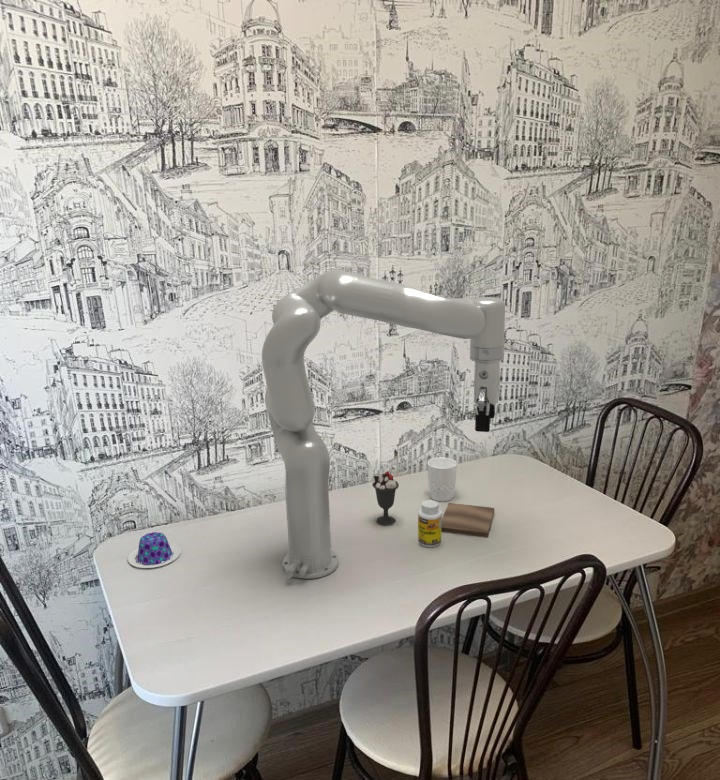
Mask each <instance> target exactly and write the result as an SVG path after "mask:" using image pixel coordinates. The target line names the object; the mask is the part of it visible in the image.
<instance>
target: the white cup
mask: <svg viewBox="0 0 720 780" xmlns="http://www.w3.org/2000/svg"><path fill="white" fill-rule="evenodd" d="M457 464H458V461H456V460H455V459H453V458H451V457H450V458H449V457H444V456H443V457H441V456H439V457H433V458H430V459H429V460H428V461H427V479H428V481H427V482H428V488H429V489H428V491H429V492H428V493H429V498H430V500H432V501H436V502H449V501H452V500H453V499H454V498H455V489H456V479H457V466H458V465H457Z"/></svg>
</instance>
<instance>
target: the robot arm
mask: <svg viewBox="0 0 720 780" xmlns="http://www.w3.org/2000/svg"><path fill="white" fill-rule="evenodd" d="M334 311H335V312H337V313H340V314H344V315H347V316H348V315H349V316H353V317H358V318H364V319H368V320H374V321H378V322H384V323H388V324H392V325H396V326H400V327H404V328H410V329H416V330H421V331H425V332H429V333H433V334H436V335H437V334H438V335H441V336H446V337H451V338H456V339H463V340H469V341H470V342H469V343H470V344H469V345H470V346H469V359H470V361H473V362H474V373H473V374H474V375H473V376H474V379H473V397H474V399H473V400H474V401H473V402H474V404H475V405H476V409H475V415H474V420H475V423H474V430H475V432H480V433H481V432H482V433H483V432H484V433H489V432H490V427H491V426H490V425H491V419H495V415H496V414H495V413H496V412H495V409H496V405H497V404H498V401H499V399H500V394H501V393H500V390H501V388H500V387H501V386H500V383H501V381H500V378H501V377H500V373H501V369H500V368H501V367H500V366H501V365H500V362H503V361H504V358H505V331H506V328H505V326H506V303H505V301H504V300H503V299H502V298H501V297H493V296H483V297H482V296H481V297H477V298H459V297H448V298H444V297H442V296H441V297H440V296H437V295H433V294H431V293H428V292H424V291H421V290H419V289H417V288H414V287H412V286H408V285H405V284H402V283H397V282H392V281H387V280H383V279H378V278H374V277H369V276H365V275H361V274H357V273H353V272H348V271H346V270H344V269H339V268H333V269H330V270H327V271H325V272H323V273H321V274H320V275H318V276H316V277H315V278H313V279H311V280H309V281H308V282H306V283H305V284H303V285H301V286H299V287H298V288H296V289H295V290H293V291H291V292H290V293H288V294H286V295H284V296H283V297H281V298H280V299H279V300H278V301H277V302H276V304H275V305H274V307H273V309H272V312H271V313H272V315H271V316H272V317H271V318H272V319H271V320H272V323H273V326H272V327H271V329H270V330H269V332H268V334H267V335H266V338H265V339H264V342H263V344H262V345H263V346H262V351H261V362H262V363H261V364H262V369H263V373H264V377H265V379H264V380H265V383H266V387H267V389H266V391H265V394H264V403H265V409H266V412H267V415H268V416H267V417H268V420H269V424H270V427H271V428H270V429H271V430H272V434H273V438H274V442H275V445H276V449H277V450H278V453H279V455H280V456H281V460H282V461H283V464H284V469H285V471H284V472H285V485H284V487H285V489H284V494H285V495H284V496H285V507H286V508H285V509H286V525H287V526H286V528H287V542H288V544H287V545H288V553H287V554H286V555H284V557H283V560H282V568H283V571H284V575H285V577H287V578H289V579H290V578H293V577H294V578H297V579H305V580H307V579H309V580H311V579H319V578H322V577H325V576H328V575H329V574H331V573H333V572H334V571H335V570H336V569H337V568H338V565H339V556H338V555H337V553H336V552H335V551H334V550H332V546H331V545H332V544H331V543H332V542H331V519H330V518H331V515H330V511H331V510H330V497H329V496H330V495H329V494H330V493H329V492H330V490H329V485H330V483H329V480H330V479H329V478H330V469H331V468H330V467H331V457H330V452H329V449H328V447H327V444H326V443H325V442H324V440H323V439H322V438H321V436H320V434H318V433H317V431H316V428H315V425H314V421H313V420H314V418H315V413H316V412H315V411H316V407H315V401H314V398H313V396H312V395H313V394H312V392H311V388H310V385H309V384H310V383H309V380H308V376H307V372H306V366H305V353H306V349H307V348H308V347H309V345H310V344H311V343H312V342H313V341H314V340H315V338H316V337H317V336H318V334H319V332H320V328H321V325H322V323H321V322H322V321H321V319H324V318H325V317H326V316H328V315H330V314H331V313H332V312H334Z"/></svg>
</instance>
